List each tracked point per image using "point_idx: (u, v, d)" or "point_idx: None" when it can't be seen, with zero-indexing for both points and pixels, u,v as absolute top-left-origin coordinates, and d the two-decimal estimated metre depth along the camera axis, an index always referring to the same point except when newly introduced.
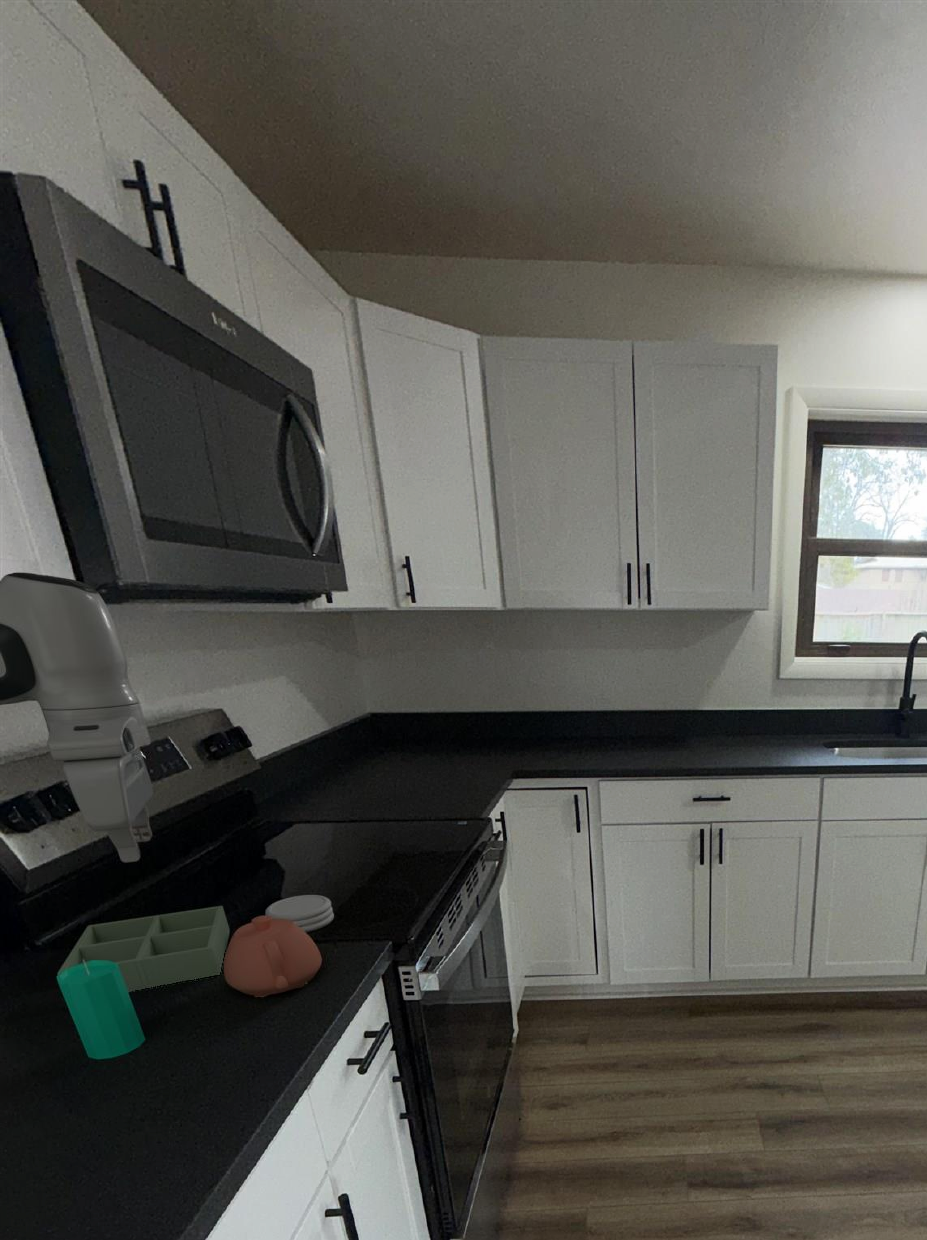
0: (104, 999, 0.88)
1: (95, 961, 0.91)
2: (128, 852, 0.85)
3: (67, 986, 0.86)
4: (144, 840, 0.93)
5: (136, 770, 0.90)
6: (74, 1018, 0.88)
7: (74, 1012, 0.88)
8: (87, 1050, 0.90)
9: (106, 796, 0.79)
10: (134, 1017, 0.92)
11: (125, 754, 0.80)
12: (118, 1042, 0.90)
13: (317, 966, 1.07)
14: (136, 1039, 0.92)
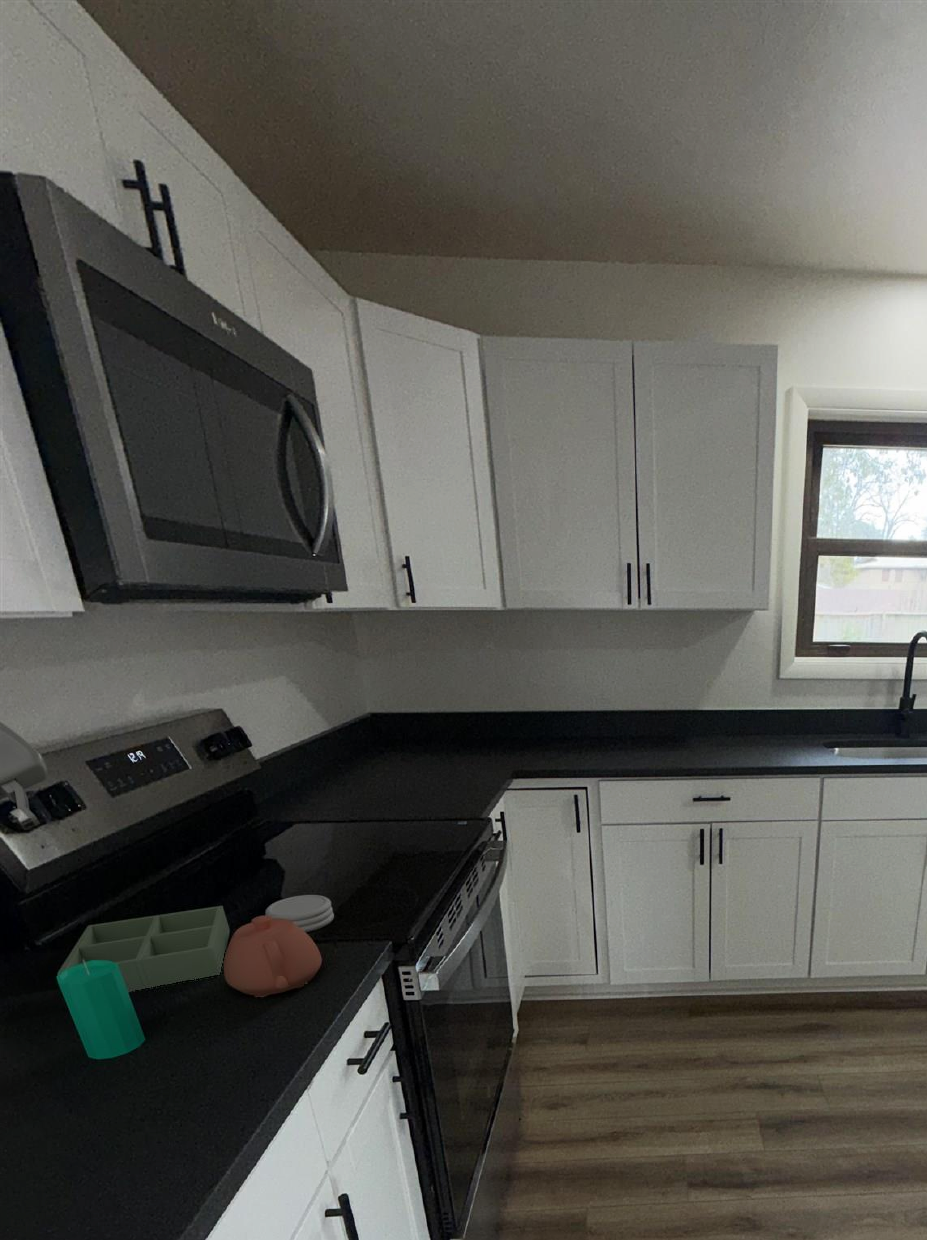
0: (104, 999, 0.88)
1: (95, 961, 0.91)
2: None
3: (67, 986, 0.86)
4: None
5: None
6: (74, 1018, 0.88)
7: (74, 1012, 0.88)
8: (87, 1050, 0.90)
9: None
10: (134, 1017, 0.92)
11: None
12: (118, 1042, 0.90)
13: (317, 966, 1.07)
14: (136, 1039, 0.92)
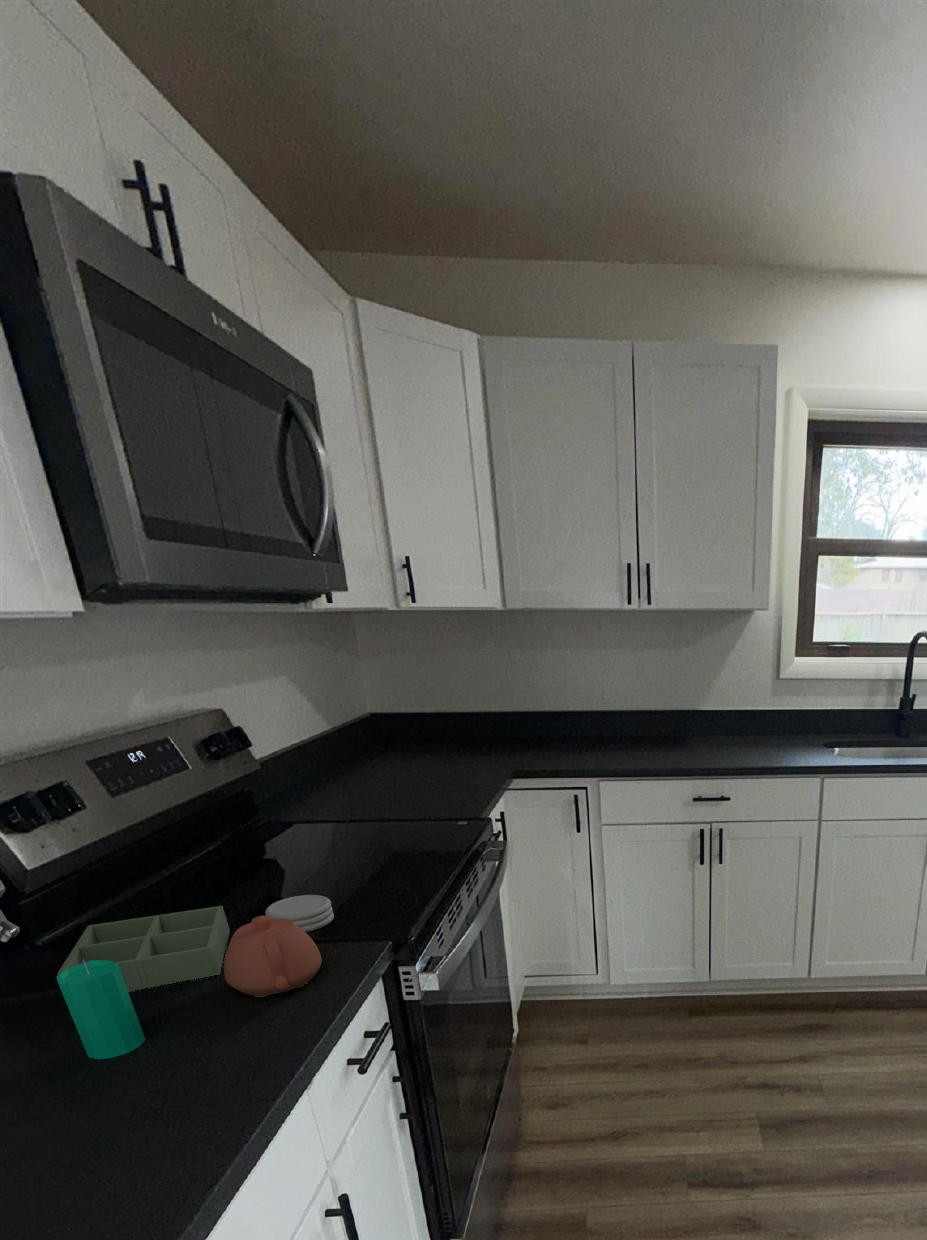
0: (104, 999, 0.88)
1: (95, 961, 0.91)
2: None
3: (67, 986, 0.86)
4: None
5: None
6: (74, 1018, 0.88)
7: (74, 1012, 0.88)
8: (87, 1050, 0.90)
9: None
10: (134, 1017, 0.92)
11: None
12: (118, 1042, 0.90)
13: (317, 966, 1.07)
14: (136, 1039, 0.92)
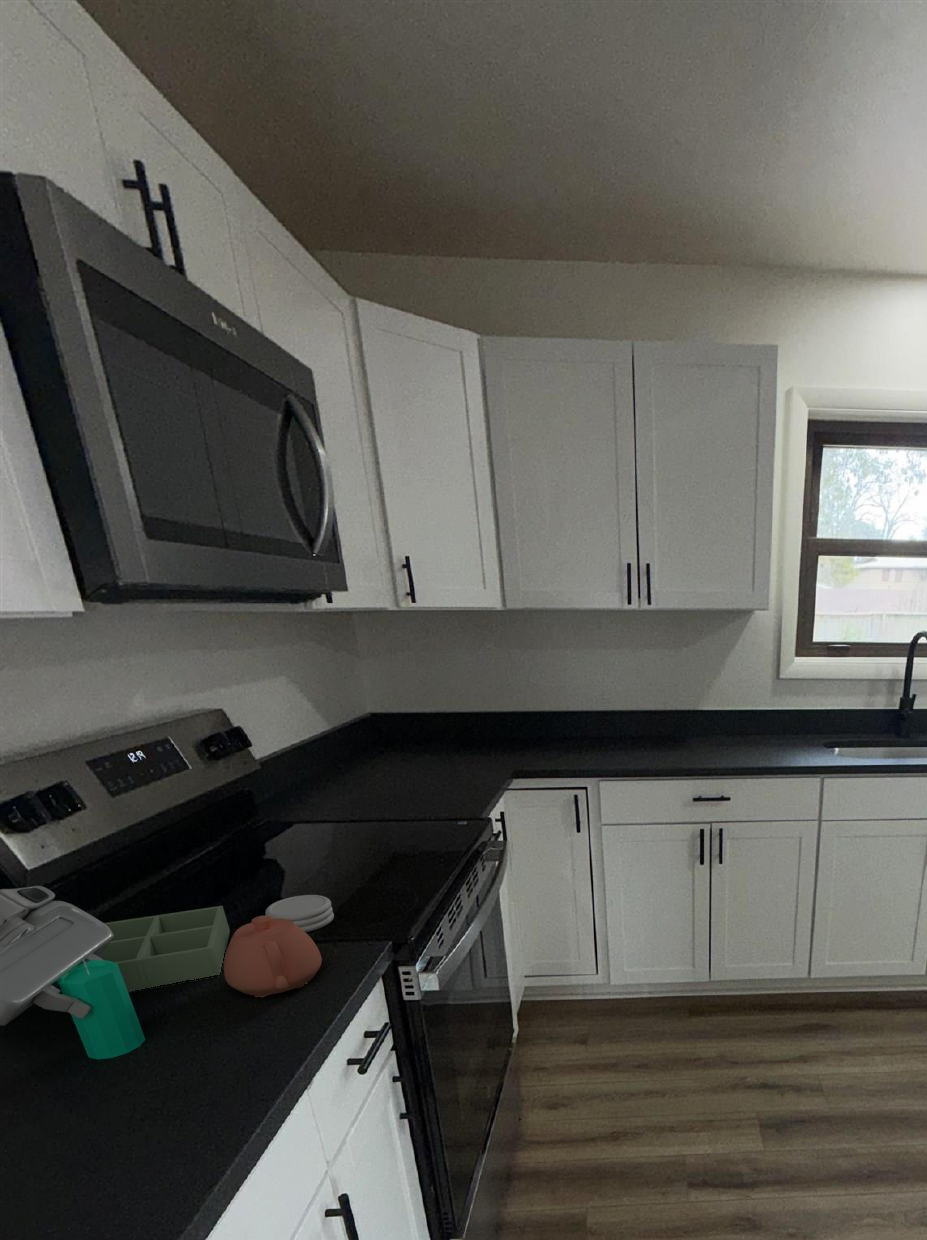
0: (104, 999, 0.88)
1: (95, 961, 0.91)
2: None
3: (67, 986, 0.86)
4: None
5: None
6: (74, 1018, 0.88)
7: None
8: (87, 1050, 0.90)
9: None
10: (134, 1017, 0.92)
11: None
12: (118, 1042, 0.90)
13: (317, 966, 1.07)
14: (136, 1039, 0.92)
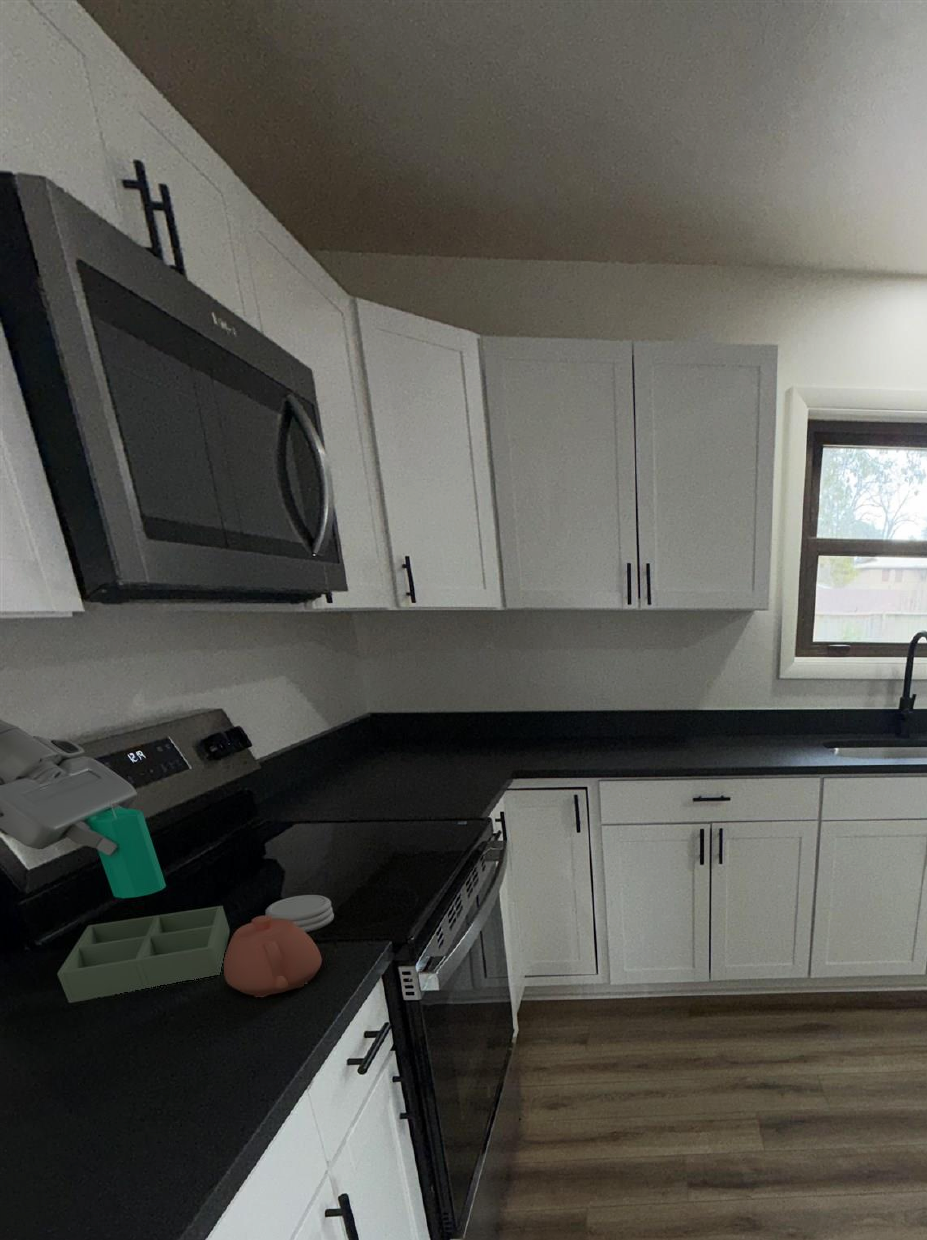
0: (129, 839, 0.96)
1: (121, 809, 0.99)
2: None
3: (96, 823, 0.94)
4: None
5: None
6: (102, 857, 0.96)
7: None
8: (113, 889, 0.98)
9: None
10: (156, 862, 1.00)
11: None
12: (142, 882, 0.98)
13: (317, 966, 1.07)
14: (158, 883, 1.00)
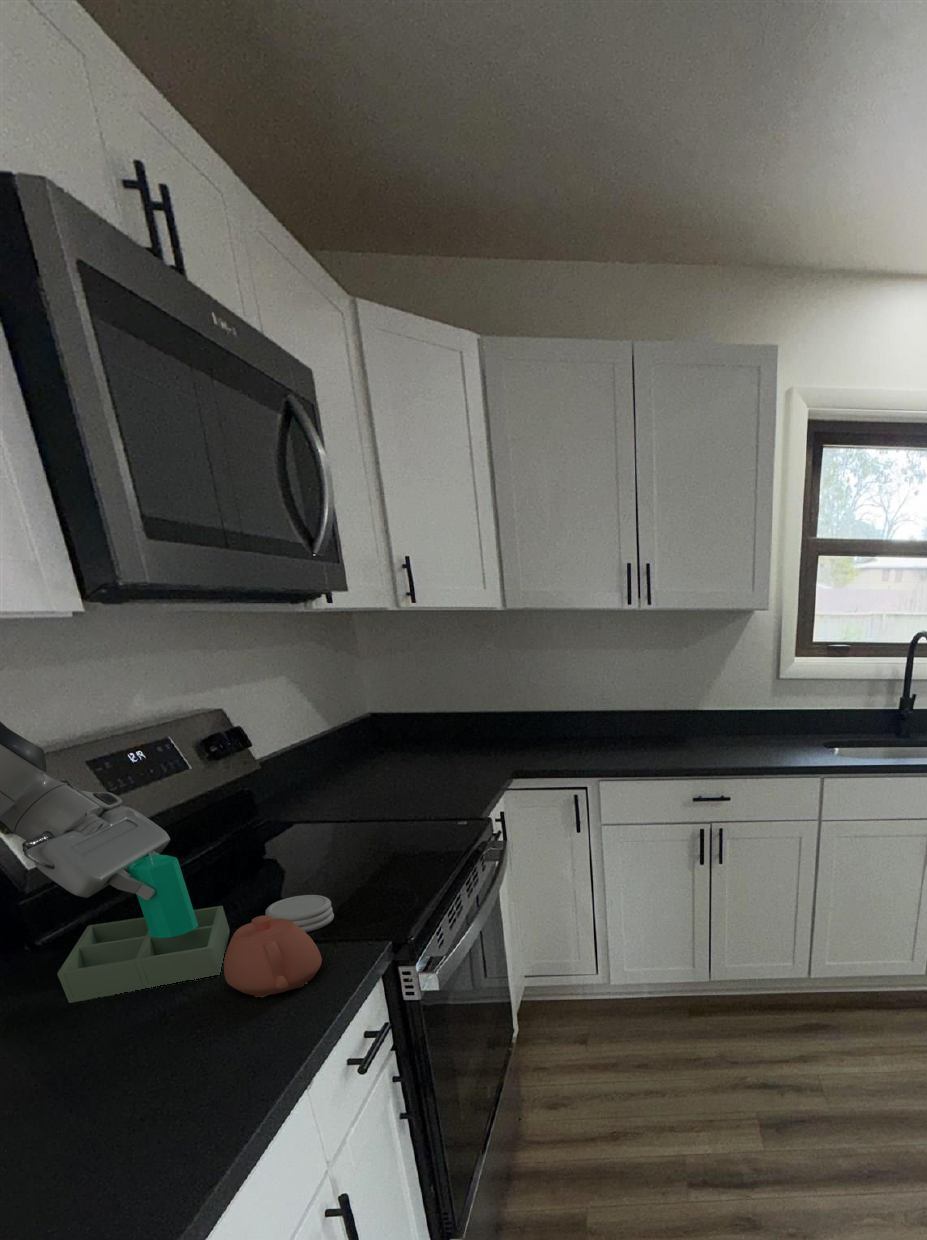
0: (166, 884, 1.04)
1: (157, 855, 1.07)
2: None
3: (136, 871, 1.02)
4: None
5: None
6: (141, 901, 1.04)
7: None
8: (151, 930, 1.06)
9: None
10: (189, 904, 1.08)
11: None
12: (177, 923, 1.06)
13: (317, 966, 1.07)
14: (191, 923, 1.08)
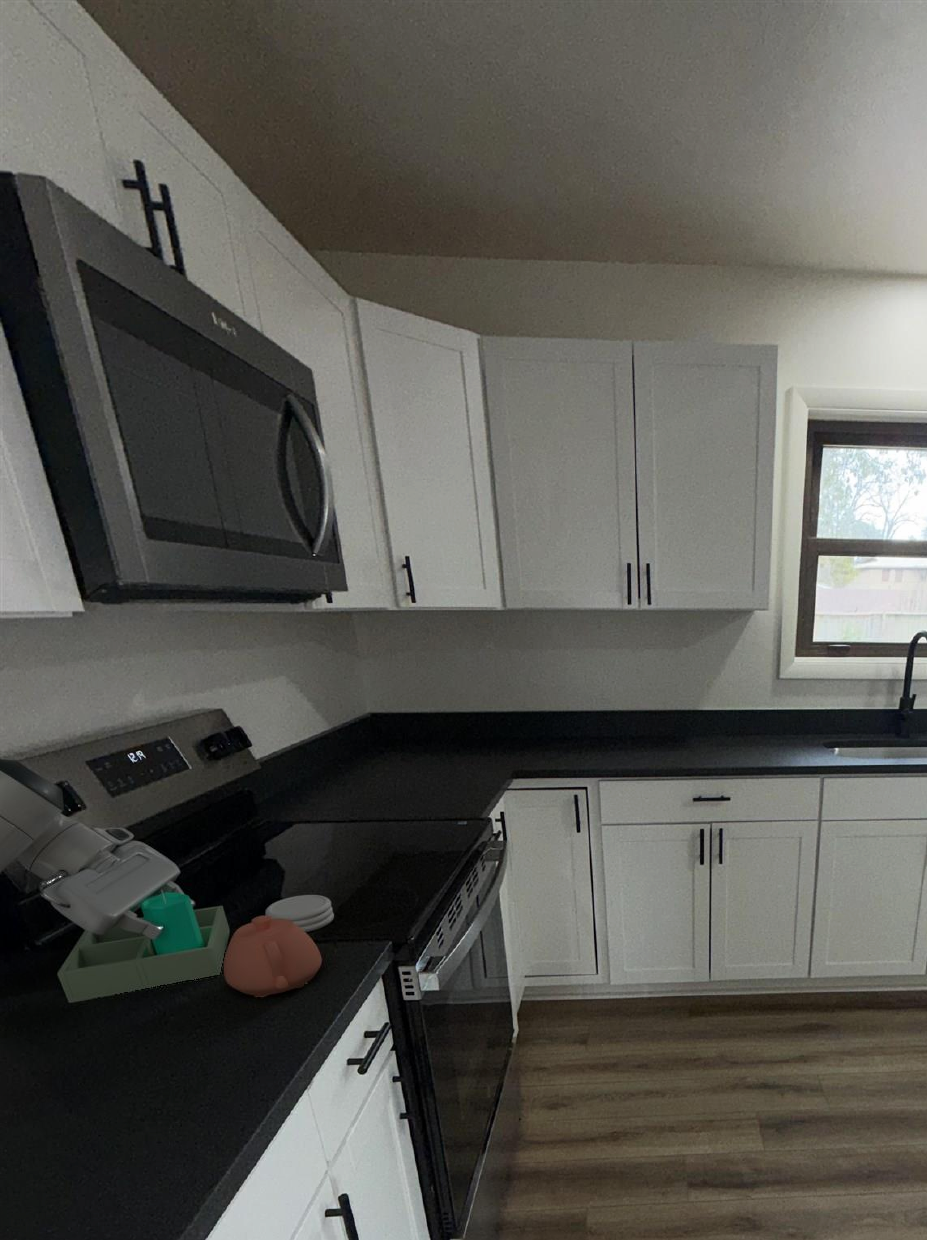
0: (178, 923, 1.07)
1: (169, 893, 1.09)
2: None
3: (149, 910, 1.05)
4: None
5: None
6: None
7: None
8: None
9: None
10: (200, 941, 1.11)
11: None
12: None
13: (317, 966, 1.07)
14: None
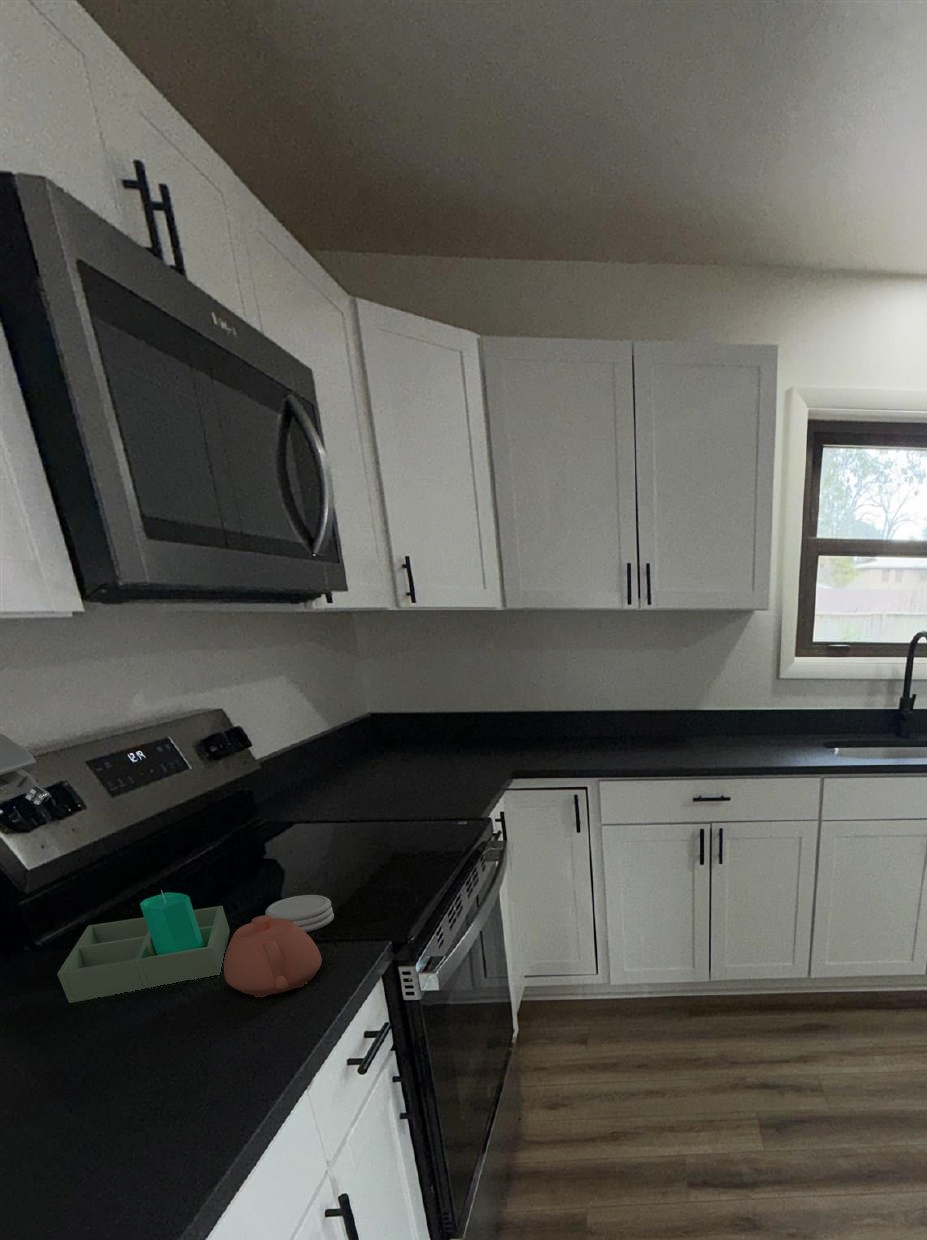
0: (178, 923, 1.07)
1: (169, 893, 1.09)
2: None
3: (149, 910, 1.05)
4: None
5: None
6: (153, 939, 1.07)
7: (154, 933, 1.06)
8: None
9: None
10: (200, 941, 1.11)
11: None
12: None
13: (317, 966, 1.07)
14: None
